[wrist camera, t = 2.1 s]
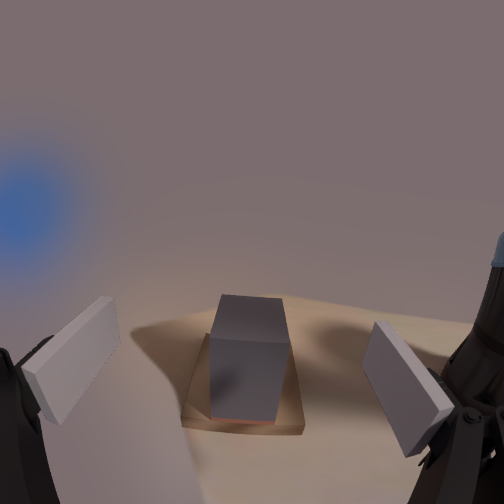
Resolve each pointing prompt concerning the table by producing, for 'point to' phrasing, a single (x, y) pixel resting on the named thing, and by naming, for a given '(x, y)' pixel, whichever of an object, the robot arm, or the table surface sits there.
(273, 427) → the oak board
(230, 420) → the block
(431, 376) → the robot arm
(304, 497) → the table surface
